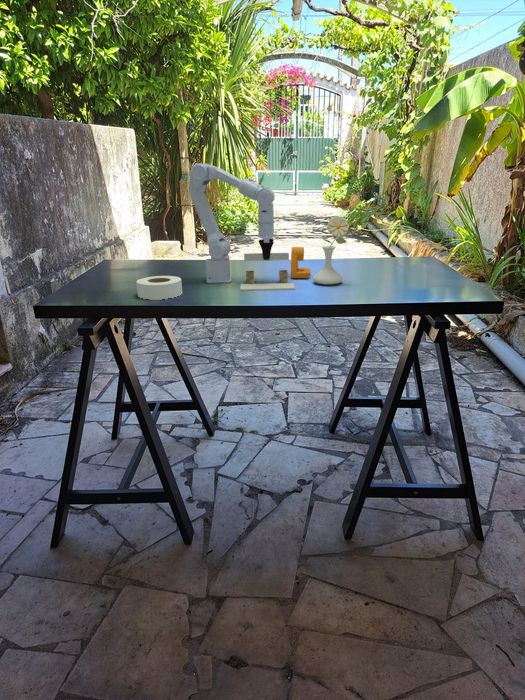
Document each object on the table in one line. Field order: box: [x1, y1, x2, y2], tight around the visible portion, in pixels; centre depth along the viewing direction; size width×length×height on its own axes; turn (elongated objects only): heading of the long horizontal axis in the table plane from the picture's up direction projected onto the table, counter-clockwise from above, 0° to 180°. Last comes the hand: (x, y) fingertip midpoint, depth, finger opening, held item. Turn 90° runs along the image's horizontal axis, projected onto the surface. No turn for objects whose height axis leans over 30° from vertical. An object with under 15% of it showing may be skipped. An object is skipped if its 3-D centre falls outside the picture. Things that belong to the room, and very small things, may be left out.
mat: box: [239, 282, 296, 292], centre depth 178 cm, size 20×8×1 cm, turn 91°
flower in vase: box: [312, 215, 350, 285], centre depth 178 cm, size 13×11×25 cm
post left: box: [245, 270, 255, 284], centre depth 186 cm, size 3×5×4 cm, turn 1°
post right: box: [278, 269, 289, 283], centre depth 186 cm, size 3×5×4 cm, turn 1°
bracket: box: [290, 246, 311, 279], centre depth 193 cm, size 11×7×12 cm, turn 172°
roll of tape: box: [136, 275, 183, 301], centre depth 170 cm, size 16×16×6 cm
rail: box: [243, 252, 290, 262], centre depth 183 cm, size 17×2×2 cm, turn 91°
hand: (266, 259), depth 183 cm, fingers closed on rail, 2 cm apart
